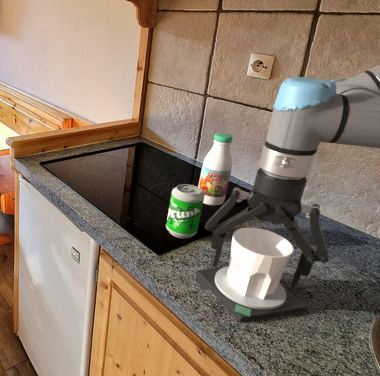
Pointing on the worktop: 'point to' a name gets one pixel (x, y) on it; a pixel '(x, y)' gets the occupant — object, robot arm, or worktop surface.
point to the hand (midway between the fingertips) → (253, 274)
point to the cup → (257, 261)
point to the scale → (248, 297)
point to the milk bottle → (216, 170)
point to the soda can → (185, 210)
